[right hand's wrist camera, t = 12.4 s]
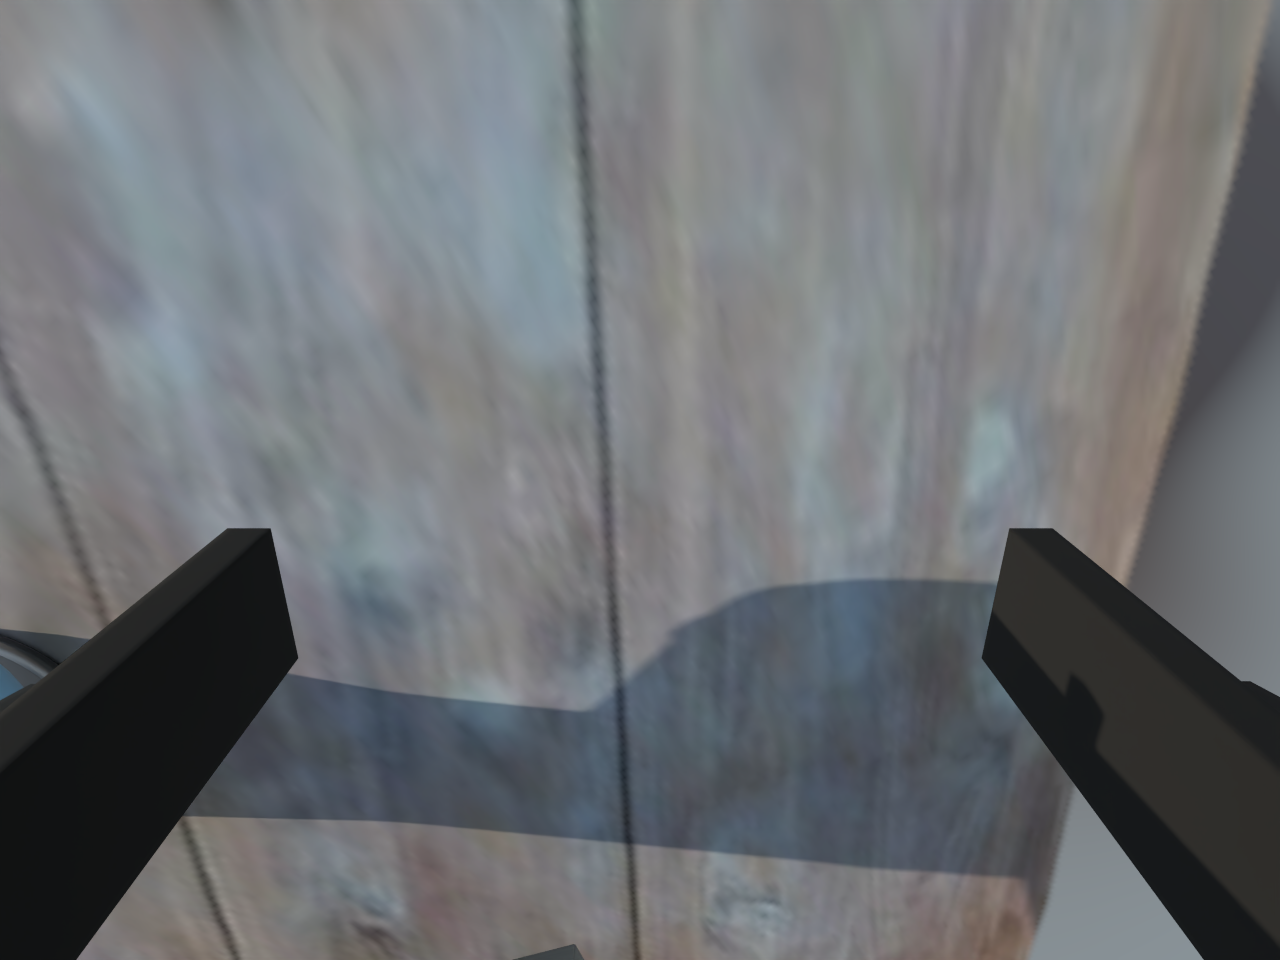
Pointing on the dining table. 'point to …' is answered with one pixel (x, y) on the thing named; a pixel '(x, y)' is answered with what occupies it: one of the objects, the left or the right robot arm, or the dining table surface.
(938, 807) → the dining table surface
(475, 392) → the dining table surface
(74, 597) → the dining table surface
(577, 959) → the bar
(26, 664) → the left robot arm
